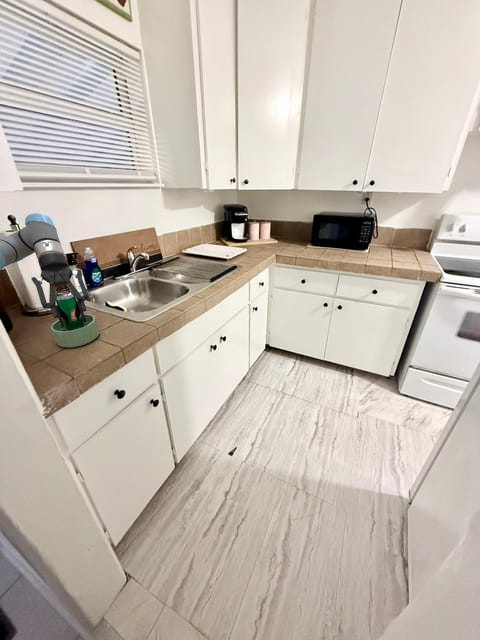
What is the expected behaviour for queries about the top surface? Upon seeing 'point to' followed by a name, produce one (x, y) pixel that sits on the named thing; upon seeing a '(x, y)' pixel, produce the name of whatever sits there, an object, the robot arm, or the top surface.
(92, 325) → the bowl
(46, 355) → the top surface
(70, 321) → the soda can
